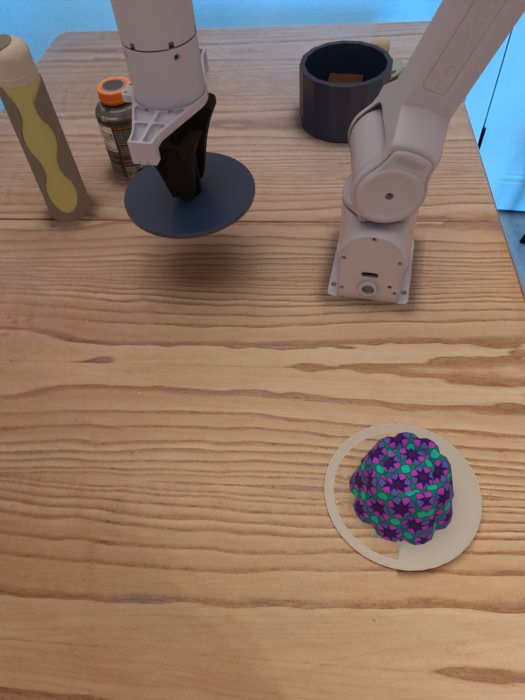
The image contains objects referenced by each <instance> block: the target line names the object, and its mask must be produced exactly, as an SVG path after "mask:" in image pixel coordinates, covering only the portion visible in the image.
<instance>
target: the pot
mask: <svg viewBox="0 0 525 700" xmlns="http://www.w3.org/2000/svg"><path fill="white" fill-rule="evenodd" d="M370 43H371V42H367V41H362V40H346V39H345V40H343V39H342V40H335V41H329V42H324V43H322V44H320V45H317V46H314V47H312V48H310V49H309V50H308V51H307V52H306V53H304V54H303V55H302V57H301V59H300V61H299V64H298V66H299V67H298V71H299V72H298V73H299V75H298V77H299V79H298V80H299V81H298V83H299V87H298V88H299V119H300V124H301V126H302V128H303V129H304V130H305V131H306V132H307V133H308V134H309V135H311V136H313V137H314V138H317V139H319V140H322V141H325V142H329V143H330V142H331V143H342V144H343V143H348V131H349V128H350V125H351V123H352V121H353V119H354V118H355V117H356V116H357V115H358V114H359V113H360V112H361V111H362V110H364V109H365V108H366V107H368V106H369V105H370V104H371V103H372V102H373V101H374V100H375V99H376V98H377V96H378V95H379V93H380V91H381V89H382V88H383V86H384V85H386V84H388V83H390V82H392V79H391V76H392V67H393V59H394V58H393V57H392V56H391V54H390V53H389V52H387V51H386V50H384V49H382V48H381V47H379V46H377V45H374V44H370ZM330 73H338V74H356V75H364V77H363V82H359V83H352V84H341V83H330V82H327V81H328V78H329V75H330Z"/></svg>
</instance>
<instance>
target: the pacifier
mask: <svg viewBox="0 0 525 700" xmlns="http://www.w3.org/2000/svg"><path fill="white" fill-rule="evenodd" d="M369 43H370V44H374V45H377V46H379V47H381V48H382V49H384V50H386V51H387V52H388V53H389V52H390V49H391V42H390V40H389V38H388V37H386V36H378V37H375V38H374V39H373V40H372V41H371V42H369ZM392 59H393V67H392V76H391V80H393V79H394V78H397V77H398V76H400V74H401V73H402V71H403V69H404V67H405V62H404V60H402V59H400V58H392Z"/></svg>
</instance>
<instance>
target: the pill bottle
mask: <svg viewBox="0 0 525 700" xmlns="http://www.w3.org/2000/svg"><path fill="white" fill-rule="evenodd" d="M130 82H131V80H130V77H126V76H123V75H122V76H121V75H115V76H110V77H107V78H104V79H102V80H101V81H99V82H98V84H97V85H96V93H97V95H98V96H97V97H98V100H99V101H98V103H97V104H96V105H95V110H94V115H95V118H96V121H97V124H98V127H99V130H100V133H101V136H102V140H103V142H104V146H105V149H106V152H107V155H108V158H109V161H110V164H111V167H112V170H113V173H114V175H115V177H117V178H118V179H120V180H123V181H128V182H131V180H132V179H133V178H134V177H135V175H136V174H138V173H139V172H140V171H141V170H142V169H144V168H145V167H147V166H148V165H142V164H134V163H133V161H132V158H131V154H130V151H129V147H128V144H127V141H128V139H129V137H130V135H131V131H132V103H128V102H124V101H123V99H122V96H121V92H122V90H123V89H124V87H125V86H126V85H127V84H128V83H130Z"/></svg>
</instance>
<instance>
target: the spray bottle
mask: <svg viewBox="0 0 525 700" xmlns="http://www.w3.org/2000/svg"><path fill="white" fill-rule="evenodd" d="M0 100H1V102H2V105H3V107H4V110H5V112H6V114H7V117H8V120H9V121H10V124H11V126H12V128H13V131H14V133H15V135H16V138H17V140H18V142H19V145H20V148H21V149H22V152H23V154H24V156H25V159H26V160H27V161H26V162H27V163H28V166H29V167H30V170H31V172H32V175H33V177H34V179H35V181H36V184H37V185H38V188H39V191H40V193H41V195H42V197H43V200H44V202H45V204H46V207H47V209H48V211H49V214H50V216H51V218H52V219H54V220H55V221H57V222H62V223H68V222H69V223H71V222H75V221H79V220H80V219H82V218H84V217H85V216H86V215H87V214H88V213H89V212H90V211H91V209H92V201H91V199H90V196H89V194H88V191H87V189H86V185H85V184H84V181H83V178H82V175H81V173H80V170H79V167H78V165H77V163H76V161H75V158H74V156H73V153H72V150H71V148H70V145H69V143H68V140H67V137H66V135H65V132H64V130H63V127H62V124H61V122H60V120H59V117H58V115H57V113H56V110H55V107H54V104H53V102H52V99H51V98H50V95H49V91H48V89H47V87H46V85H45V82H44V79H43V76H42V74H41V73H40V72H39V70H38V67H37V64H36V62H35V60H34V57H33V55H32V53H31V49H30V46H29V45H28V43H27V42H26V41H25V40H24V39H22V38H21V37H19V36H17V35H13V34H7V33H2V34H1V33H0Z"/></svg>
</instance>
